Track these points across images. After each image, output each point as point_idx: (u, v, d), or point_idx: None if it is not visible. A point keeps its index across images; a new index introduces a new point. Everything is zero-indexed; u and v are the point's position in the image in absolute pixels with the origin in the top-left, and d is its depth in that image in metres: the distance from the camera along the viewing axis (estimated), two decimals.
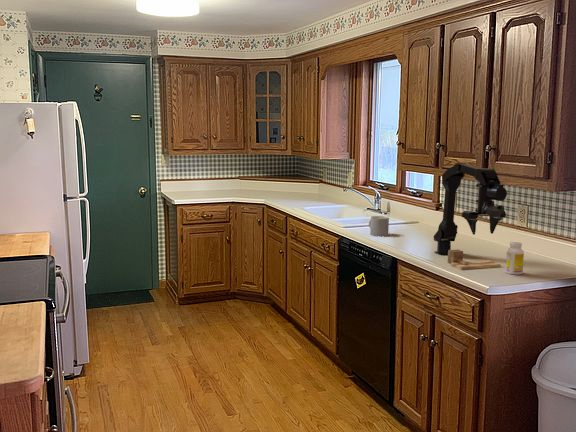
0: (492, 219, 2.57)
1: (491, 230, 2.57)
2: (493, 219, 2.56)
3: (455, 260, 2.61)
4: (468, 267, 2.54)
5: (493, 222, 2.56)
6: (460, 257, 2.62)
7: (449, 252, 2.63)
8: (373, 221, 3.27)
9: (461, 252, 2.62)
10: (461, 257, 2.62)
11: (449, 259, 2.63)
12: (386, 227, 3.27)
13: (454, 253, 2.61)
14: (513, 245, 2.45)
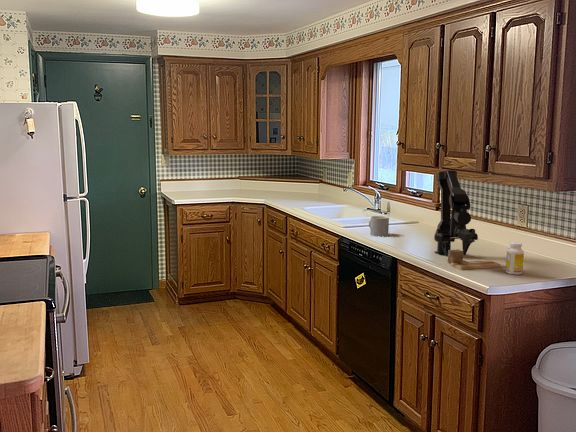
0: (464, 241, 2.65)
1: (463, 252, 2.65)
2: (465, 241, 2.64)
3: (455, 260, 2.61)
4: (468, 267, 2.54)
5: (465, 244, 2.64)
6: (460, 257, 2.62)
7: (449, 252, 2.63)
8: (373, 221, 3.27)
9: (461, 252, 2.62)
10: (461, 257, 2.62)
11: (449, 259, 2.63)
12: (386, 227, 3.27)
13: (454, 253, 2.61)
14: (513, 245, 2.45)
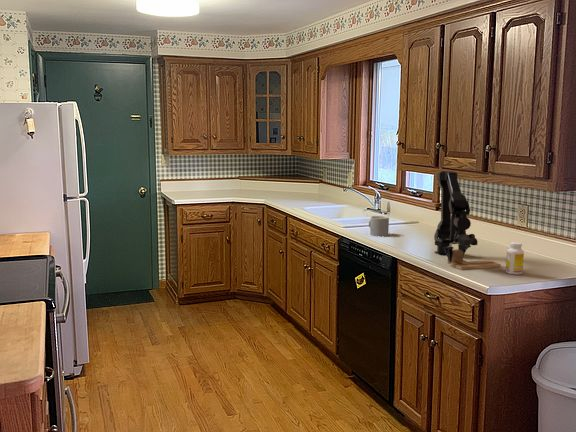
0: (461, 247, 2.64)
1: None
2: (461, 247, 2.64)
3: (455, 260, 2.61)
4: (468, 267, 2.54)
5: (461, 250, 2.64)
6: (460, 257, 2.62)
7: None
8: (373, 221, 3.27)
9: (461, 252, 2.62)
10: (461, 257, 2.62)
11: None
12: (386, 227, 3.27)
13: (454, 252, 2.61)
14: (513, 245, 2.45)
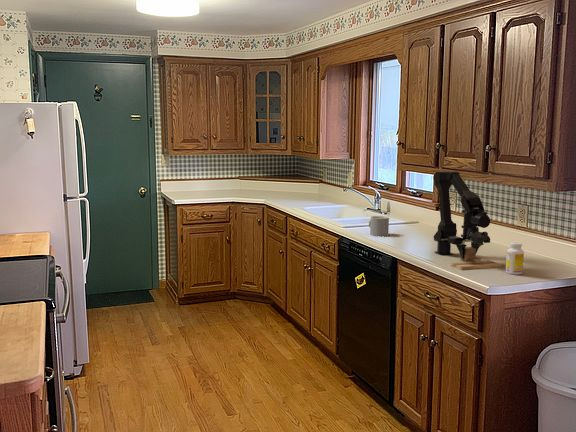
0: (473, 244, 2.66)
1: None
2: (474, 244, 2.66)
3: (468, 257, 2.63)
4: (468, 267, 2.54)
5: (474, 247, 2.66)
6: (473, 254, 2.64)
7: None
8: (373, 221, 3.27)
9: (474, 249, 2.64)
10: (474, 254, 2.64)
11: None
12: (386, 227, 3.27)
13: (467, 250, 2.63)
14: (513, 245, 2.45)
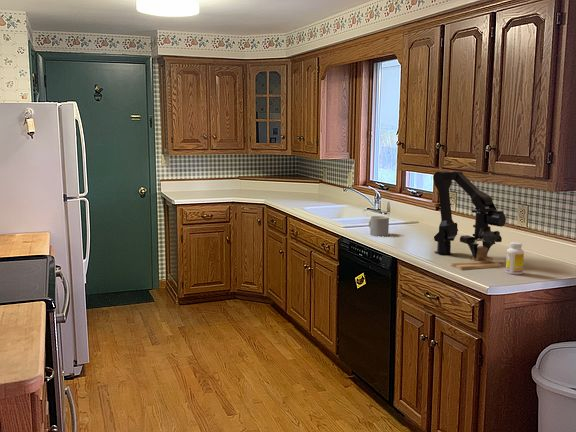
0: (485, 243, 2.69)
1: None
2: (486, 243, 2.68)
3: (480, 256, 2.65)
4: (468, 267, 2.54)
5: (486, 246, 2.68)
6: (485, 254, 2.66)
7: None
8: (373, 221, 3.27)
9: (486, 249, 2.66)
10: (486, 254, 2.66)
11: None
12: (386, 227, 3.27)
13: (479, 249, 2.65)
14: (513, 245, 2.45)
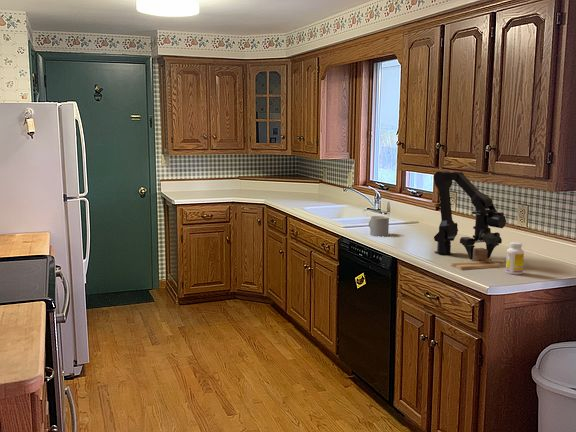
0: (488, 245, 2.69)
1: (487, 255, 2.69)
2: (489, 245, 2.69)
3: (480, 258, 2.65)
4: (468, 267, 2.54)
5: (489, 248, 2.68)
6: (485, 255, 2.66)
7: (474, 250, 2.68)
8: (373, 221, 3.27)
9: (486, 250, 2.66)
10: (486, 255, 2.66)
11: (474, 257, 2.68)
12: (386, 227, 3.27)
13: (479, 251, 2.65)
14: (513, 245, 2.45)
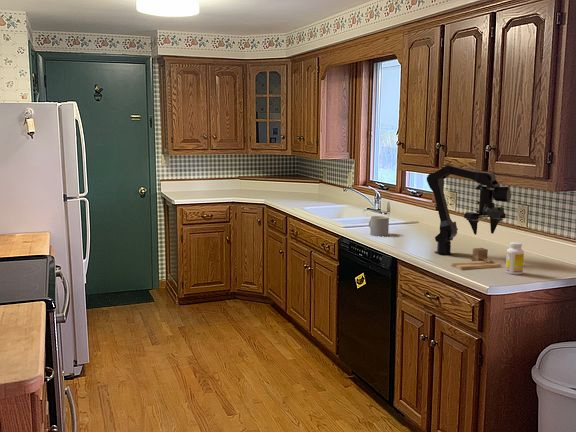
0: (492, 220, 2.72)
1: (491, 230, 2.72)
2: (493, 220, 2.72)
3: (480, 258, 2.65)
4: (468, 267, 2.54)
5: (493, 223, 2.71)
6: (485, 255, 2.66)
7: (474, 250, 2.68)
8: (373, 221, 3.27)
9: (486, 250, 2.66)
10: (486, 255, 2.66)
11: (474, 257, 2.68)
12: (386, 227, 3.27)
13: (479, 251, 2.65)
14: (513, 245, 2.45)
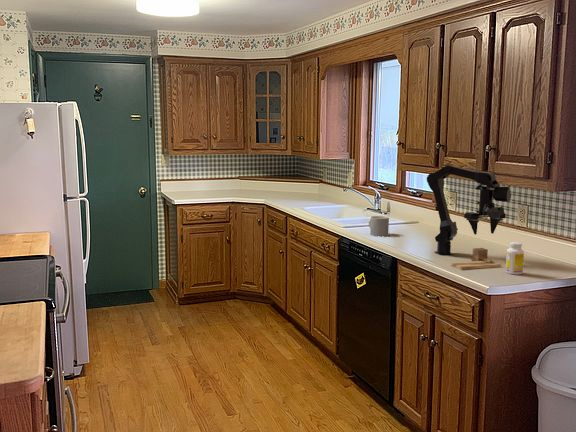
0: (492, 220, 2.72)
1: (491, 230, 2.72)
2: (493, 220, 2.72)
3: (480, 258, 2.65)
4: (468, 267, 2.54)
5: (493, 223, 2.71)
6: (485, 255, 2.66)
7: (474, 250, 2.68)
8: (373, 221, 3.27)
9: (486, 250, 2.66)
10: (486, 255, 2.66)
11: (474, 257, 2.68)
12: (386, 227, 3.27)
13: (479, 251, 2.65)
14: (513, 245, 2.45)
